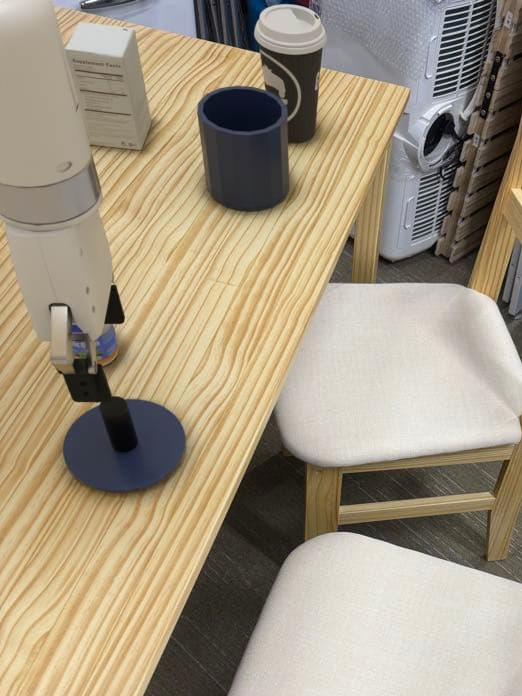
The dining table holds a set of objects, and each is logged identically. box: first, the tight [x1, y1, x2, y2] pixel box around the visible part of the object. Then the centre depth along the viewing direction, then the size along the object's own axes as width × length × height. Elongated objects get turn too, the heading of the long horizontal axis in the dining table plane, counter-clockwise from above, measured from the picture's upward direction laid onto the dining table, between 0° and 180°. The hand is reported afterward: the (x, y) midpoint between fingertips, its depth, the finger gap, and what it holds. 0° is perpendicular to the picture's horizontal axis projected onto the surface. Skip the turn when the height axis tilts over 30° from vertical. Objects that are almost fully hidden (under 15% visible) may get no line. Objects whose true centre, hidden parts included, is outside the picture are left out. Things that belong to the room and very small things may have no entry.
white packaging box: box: [64, 21, 153, 151], centre depth 104 cm, size 7×7×13 cm
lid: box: [62, 395, 187, 494], centre depth 77 cm, size 12×12×7 cm
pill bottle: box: [72, 323, 120, 367], centre depth 83 cm, size 5×5×10 cm
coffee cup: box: [253, 3, 328, 144], centre depth 108 cm, size 10×10×15 cm
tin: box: [196, 85, 290, 212], centre depth 101 cm, size 11×11×10 cm
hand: (100, 359), depth 69 cm, fingers open, 9 cm apart
